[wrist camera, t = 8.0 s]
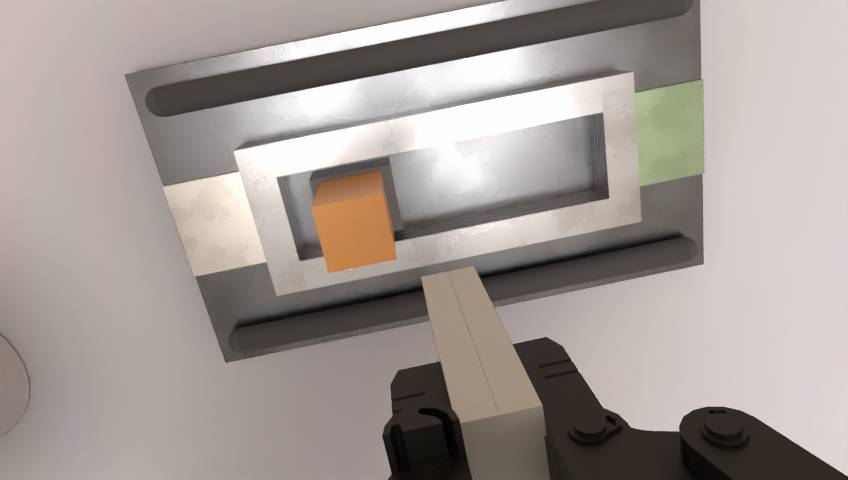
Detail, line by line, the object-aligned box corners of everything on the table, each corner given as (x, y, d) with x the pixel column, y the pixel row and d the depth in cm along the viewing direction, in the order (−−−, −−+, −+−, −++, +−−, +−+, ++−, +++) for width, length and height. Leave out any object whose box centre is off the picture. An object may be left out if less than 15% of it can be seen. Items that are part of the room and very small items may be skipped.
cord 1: (235, 347, 32) (229, 360, 31) (228, 325, 32) (221, 338, 30) (689, 254, 33) (703, 263, 31) (689, 231, 32) (703, 239, 31)
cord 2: (157, 117, 28) (146, 121, 26) (147, 88, 27) (135, 91, 26) (684, 14, 28) (699, 13, 27) (683, -16, 28) (699, -20, 26)
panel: (230, 351, 33) (216, 382, 30) (134, 73, 28) (106, 77, 25) (692, 256, 34) (723, 277, 31) (686, -34, 29) (723, -43, 26)
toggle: (328, 234, 30) (318, 279, 24) (312, 172, 29) (297, 205, 23) (401, 219, 30) (408, 261, 25) (389, 157, 29) (393, 186, 23)
